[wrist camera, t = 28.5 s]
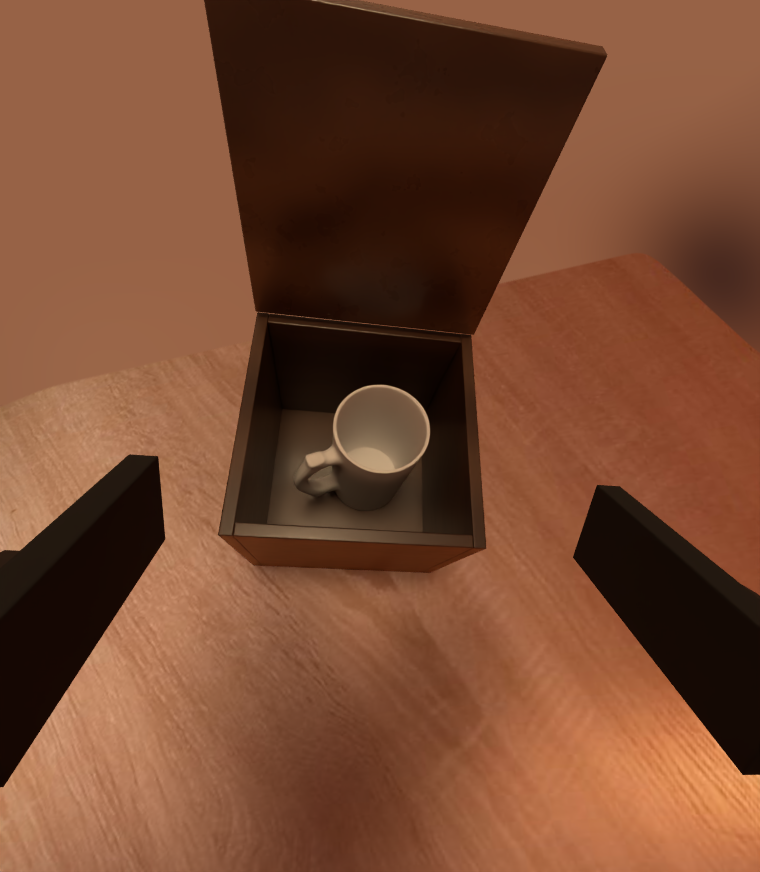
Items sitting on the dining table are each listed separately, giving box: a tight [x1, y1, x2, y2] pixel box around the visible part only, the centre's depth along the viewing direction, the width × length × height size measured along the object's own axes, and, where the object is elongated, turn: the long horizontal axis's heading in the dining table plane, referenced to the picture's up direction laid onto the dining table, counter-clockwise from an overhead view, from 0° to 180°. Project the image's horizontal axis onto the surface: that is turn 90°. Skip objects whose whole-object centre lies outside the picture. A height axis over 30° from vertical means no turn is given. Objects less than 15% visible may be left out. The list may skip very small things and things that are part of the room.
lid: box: [204, 0, 607, 335], centre depth 23 cm, size 16×16×1 cm
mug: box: [293, 385, 430, 511], centre depth 35 cm, size 10×7×12 cm, turn 115°
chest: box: [218, 312, 486, 573], centre depth 34 cm, size 16×16×14 cm
